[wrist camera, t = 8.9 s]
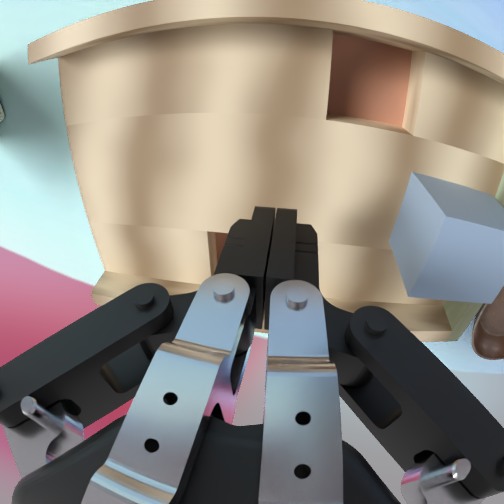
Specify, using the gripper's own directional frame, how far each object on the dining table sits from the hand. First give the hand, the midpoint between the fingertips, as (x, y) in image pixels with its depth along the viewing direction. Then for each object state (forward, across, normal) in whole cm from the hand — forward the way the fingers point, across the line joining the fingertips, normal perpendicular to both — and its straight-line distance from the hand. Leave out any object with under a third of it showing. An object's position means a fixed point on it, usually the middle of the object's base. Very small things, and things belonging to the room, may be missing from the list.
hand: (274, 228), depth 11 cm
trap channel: (+7, 0, 0) cm, 7 cm away
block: (+5, -10, +2) cm, 11 cm away
